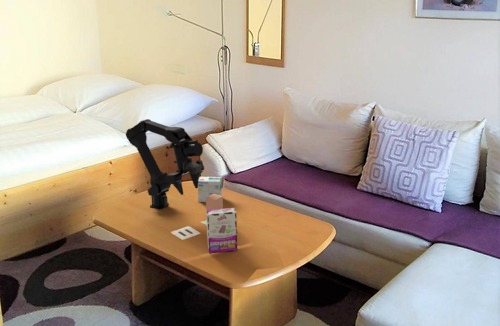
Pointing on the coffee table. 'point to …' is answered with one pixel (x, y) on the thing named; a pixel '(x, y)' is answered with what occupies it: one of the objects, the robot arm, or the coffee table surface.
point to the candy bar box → (221, 230)
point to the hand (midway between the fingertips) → (189, 191)
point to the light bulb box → (209, 187)
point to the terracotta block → (214, 202)
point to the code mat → (187, 232)
